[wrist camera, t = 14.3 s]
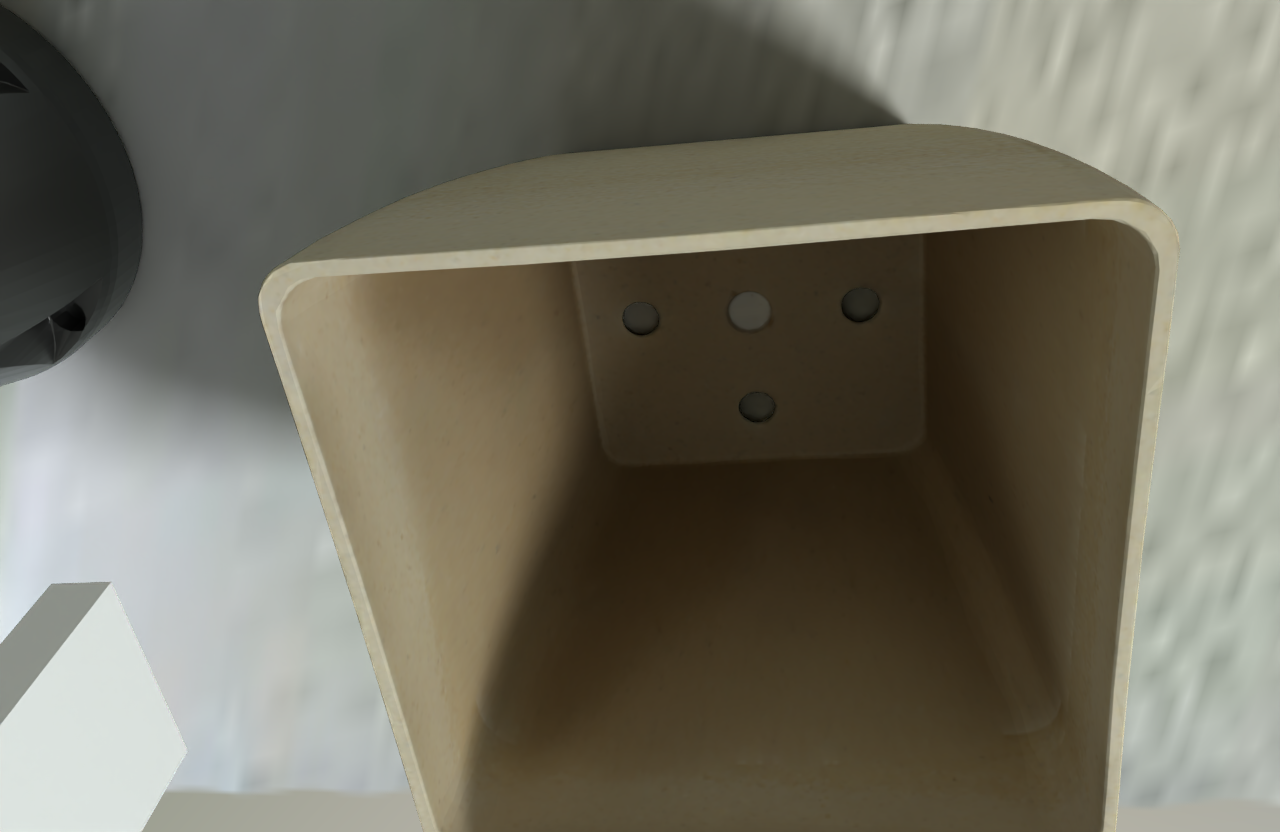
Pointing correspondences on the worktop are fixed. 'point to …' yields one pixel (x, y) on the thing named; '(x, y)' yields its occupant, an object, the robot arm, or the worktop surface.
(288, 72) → the worktop surface
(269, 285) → the flower pot
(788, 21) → the worktop surface
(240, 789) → the worktop surface
